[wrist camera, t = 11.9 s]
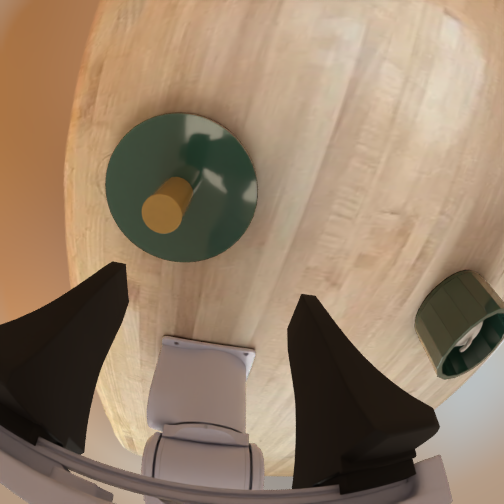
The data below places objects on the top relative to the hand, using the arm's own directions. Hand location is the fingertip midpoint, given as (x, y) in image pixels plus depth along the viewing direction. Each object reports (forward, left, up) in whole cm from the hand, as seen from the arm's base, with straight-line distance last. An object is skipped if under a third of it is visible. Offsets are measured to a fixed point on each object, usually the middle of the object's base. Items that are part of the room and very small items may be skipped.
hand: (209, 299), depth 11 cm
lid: (-3, +1, -9) cm, 10 cm away
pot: (+26, -6, -10) cm, 28 cm away
